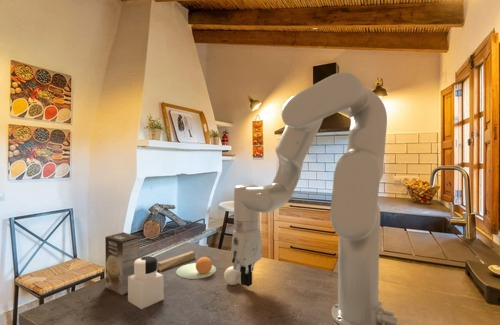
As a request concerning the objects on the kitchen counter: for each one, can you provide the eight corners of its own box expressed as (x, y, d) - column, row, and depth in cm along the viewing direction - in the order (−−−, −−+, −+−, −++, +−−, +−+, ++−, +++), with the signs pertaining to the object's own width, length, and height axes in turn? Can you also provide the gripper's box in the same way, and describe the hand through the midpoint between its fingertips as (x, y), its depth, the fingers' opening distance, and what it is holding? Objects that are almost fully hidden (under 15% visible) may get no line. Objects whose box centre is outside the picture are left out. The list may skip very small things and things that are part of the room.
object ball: (206, 252, 103) (203, 266, 104) (194, 256, 99) (191, 270, 100) (216, 260, 100) (213, 274, 101) (204, 264, 95) (201, 279, 96)
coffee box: (104, 287, 89) (103, 236, 89) (123, 280, 94) (123, 231, 94) (121, 295, 84) (121, 241, 84) (140, 287, 89) (140, 236, 89)
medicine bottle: (150, 292, 86) (150, 252, 86) (164, 299, 81) (163, 257, 81) (127, 301, 80) (127, 259, 80) (141, 310, 76) (140, 265, 76)
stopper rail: (195, 258, 115) (195, 251, 115) (160, 270, 102) (160, 263, 102) (191, 257, 116) (191, 250, 116) (157, 269, 103) (157, 262, 103)
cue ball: (234, 260, 94) (230, 274, 96) (222, 265, 90) (218, 280, 91) (247, 270, 91) (242, 284, 92) (235, 276, 87) (230, 291, 88)
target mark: (224, 269, 103) (224, 268, 103) (194, 282, 92) (194, 282, 92) (198, 260, 112) (198, 260, 112) (168, 271, 101) (168, 271, 101)
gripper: (239, 232, 79) (239, 297, 80) (270, 222, 91) (270, 279, 91) (220, 228, 84) (220, 289, 84) (251, 219, 96) (251, 273, 96)
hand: (246, 284), depth 88 cm, fingers closed
